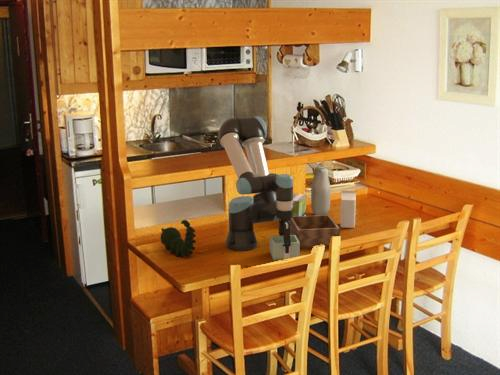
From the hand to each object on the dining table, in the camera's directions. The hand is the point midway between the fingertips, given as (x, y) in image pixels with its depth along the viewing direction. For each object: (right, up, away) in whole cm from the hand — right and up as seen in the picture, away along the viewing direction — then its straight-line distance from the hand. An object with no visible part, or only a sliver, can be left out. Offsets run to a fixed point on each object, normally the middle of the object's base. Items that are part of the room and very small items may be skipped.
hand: (284, 254), depth 302 cm
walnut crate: (+16, +5, +21) cm, 27 cm away
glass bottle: (+23, +15, +60) cm, 66 cm away
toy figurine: (-50, 0, +6) cm, 50 cm away
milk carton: (+35, +11, +42) cm, 56 cm away
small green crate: (0, -1, 0) cm, 1 cm away
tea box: (+7, +12, +48) cm, 50 cm away
